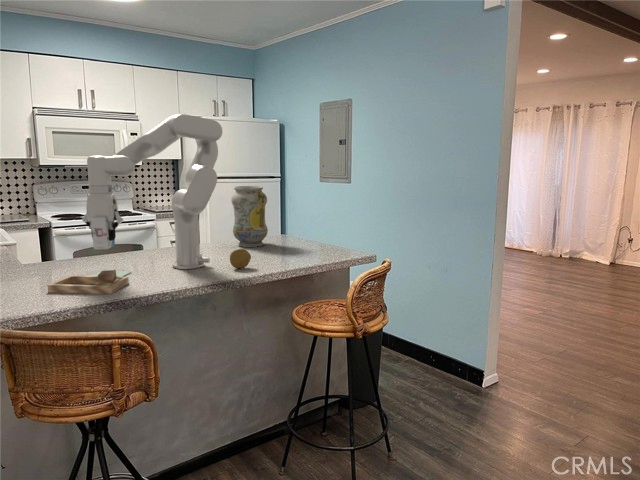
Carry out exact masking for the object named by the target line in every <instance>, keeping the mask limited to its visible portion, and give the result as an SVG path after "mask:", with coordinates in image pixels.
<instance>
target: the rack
mask: <svg viewBox="0 0 640 480" xmlns="http://www.w3.org/2000/svg"><path fill="white" fill-rule="evenodd" d="M116 278H117V279H120V280H118V281H116V282H114V283H112V284H110V285H108V286H104V285H95V283H97V282H98V276H91V275H71V274H70V275H68V276H65V277H64V278H61V279H59V280H55V281H54V282H51V283H48V284H47V293H54V294H57V293H59V294H92V295H93V294H97V295H112V294H113V293H115V292H116V291H119V290H120V289H122V288H123V287H126V286H127V285H129V284H130V283H129V276H124V277H116Z"/></svg>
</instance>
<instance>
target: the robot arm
mask: <svg viewBox="0 0 640 480" xmlns="http://www.w3.org/2000/svg"><path fill="white" fill-rule="evenodd" d="M222 136H223V128H222V125H221V124H220V123H219V122H218V121H217V120H215V119H213V118H207V117H202V116H201V117H200V116H196V115H191V114H185V113H179V114H178V113H177V114H173V115H171V116H169V117H168V118H166V119H165V120H163V121H162V122H161V123H159V124H158V125H156V126H155V127H153V128H152V129H150V130H149V131H148V132H146V133H144V134H143V135H142V136H140V137H138V138H137V139H136V140H134V141H133V142H131V143H130V144H128V145H127V146H125V147H124V148H122V149H120V150H119V151H117V152H116V153H115V154H113V155H112V156H106V155H90V156H87V159H86V162H87V163H86V165H87V175H88V176H87V179H88V194H87V197H86V209H85V210H86V212H85V213H86V214H84V215H83V217H82V218H81V220H82V222H84V223H85V224H86V225H87V227H89V229H90V230H91V233H92V224H91V218H92V217H106V219H107V222H108V226H109V228H110V230H108V233H109V240H110V241H112V240H115V241H116V237H117V236H116V229H117V228H118V226H120V224H121V223H123V222H124V218H123V217H122V216H121V215H120V214H119V207H118V202H117V197H116V194H114V193H113V192H115V191H116V187H114V186H113V185H112V176H115V177H116V176H117V177H128V176H131V175H132V174H133V173H134V172H135V167H136V165H137V164H139V163H141V162H142V161H144V160H146V159H148V158H152V157H155V156H156V155H159V154H160V153H163V151H164V150H166V149H168V147H170V146H171V145H173V144H174V143H176V142H177V141H179V140H180V139H181V138H188V139H193V140H195V142H196V143H195V144H196V146H197V148H196V152H195V155H194V157H193V159H192V162H191V163H190V165H189V167H188V169H187V171H186V174H185V182H186V184H187V185H188V188H182V189H179V190H177V191H175V193H174V194H173V195H172V198H171V207H172V213H173V220H174V239H175V262H172V265H171V266H172V268H174V269H175V270H176V269H177V270H179V269H180V270H194V269H199V268H201V267H204V266H205V264H206V263H207V264H208V263H211V259H210V257H209V256H208V257H207V256H205V257H204V256H203V254H202V253H201V249H200V248H201V247H200V222H199V214H201V213H202V212H203V211H204V210H205V209H206V207H207V206H208V204H209V201H210V199H211V198H212V195H213V193H214V190H215V189H216V187H217V183H218V175H217V172H216V170H215V169H214V168H215V165H216V162H217V160H218V156H219V147H218V143H217V142H218V141H219V140H220V139H221V138H222ZM91 238H92V239H93V235H92V234H91Z"/></svg>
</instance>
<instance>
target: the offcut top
mask: <svg viewBox="0 0 640 480" xmlns="http://www.w3.org/2000/svg"><path fill="white" fill-rule="evenodd" d="M116 271H117V270H115V269H112V270H109V269H108V270H101V272H100V271H99V272H100V273H99V274H98V284H102V283H113V282H114V281H115V280H116V279H117V278H116Z"/></svg>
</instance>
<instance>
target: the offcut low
mask: <svg viewBox="0 0 640 480" xmlns="http://www.w3.org/2000/svg"><path fill="white" fill-rule="evenodd" d="M118 280H120V279H116V280H115V281H114V282H116V281H118ZM114 282H113V283H114ZM110 284H112V283H102V284H98V282H97V283H95V284H94V285H104V286H108V285H110Z"/></svg>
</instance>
